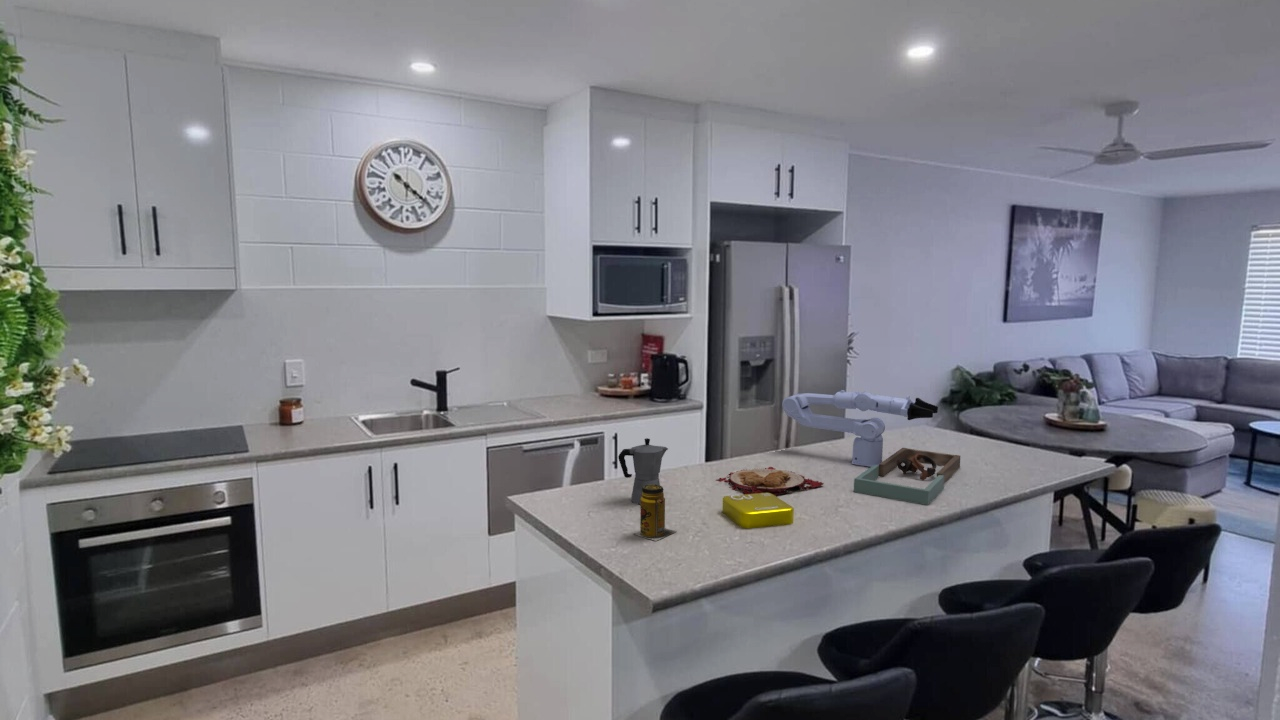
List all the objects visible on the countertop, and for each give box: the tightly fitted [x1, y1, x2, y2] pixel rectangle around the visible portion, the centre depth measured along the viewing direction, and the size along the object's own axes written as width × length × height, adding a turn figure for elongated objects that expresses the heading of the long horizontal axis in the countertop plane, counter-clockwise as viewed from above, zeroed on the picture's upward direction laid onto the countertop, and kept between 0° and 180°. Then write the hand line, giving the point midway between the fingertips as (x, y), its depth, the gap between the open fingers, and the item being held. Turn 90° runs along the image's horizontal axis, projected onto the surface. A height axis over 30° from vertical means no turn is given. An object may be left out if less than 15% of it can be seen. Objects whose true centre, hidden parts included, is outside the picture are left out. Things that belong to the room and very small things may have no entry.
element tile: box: [721, 493, 795, 530], centre depth 182 cm, size 15×15×5 cm
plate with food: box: [715, 466, 825, 497], centre depth 214 cm, size 25×26×4 cm
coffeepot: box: [617, 437, 669, 506], centre depth 194 cm, size 15×9×18 cm, turn 116°
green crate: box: [853, 465, 945, 506], centre depth 207 cm, size 21×20×4 cm
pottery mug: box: [896, 454, 938, 481], centre depth 221 cm, size 12×10×8 cm
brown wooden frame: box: [878, 447, 961, 484], centre depth 227 cm, size 19×28×4 cm
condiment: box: [634, 484, 677, 542], centre depth 169 cm, size 7×8×12 cm
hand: (935, 412), depth 223 cm, fingers open, 7 cm apart
